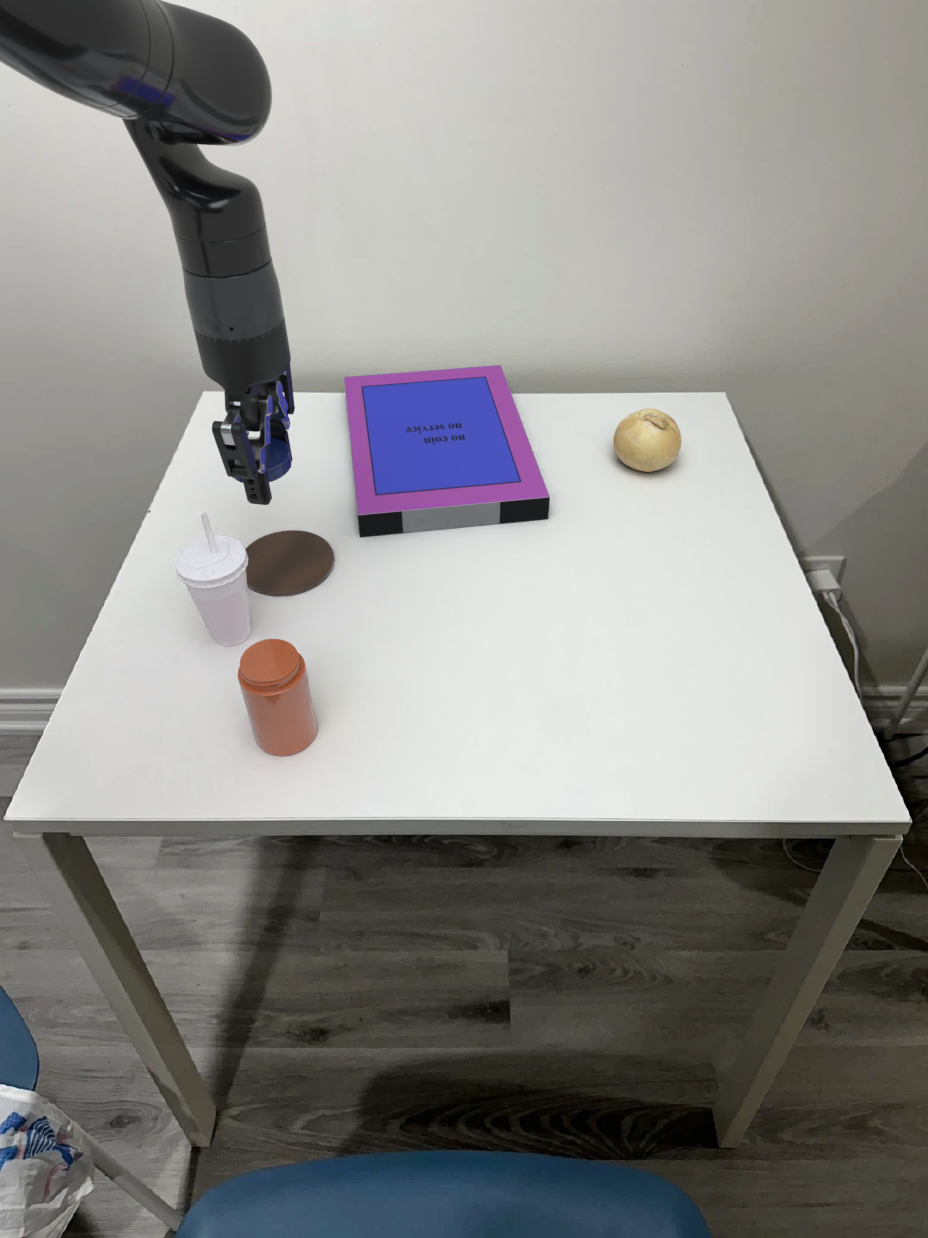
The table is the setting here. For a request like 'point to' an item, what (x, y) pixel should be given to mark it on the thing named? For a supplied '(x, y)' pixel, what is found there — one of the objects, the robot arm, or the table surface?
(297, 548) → the coaster
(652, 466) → the onion
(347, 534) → the table surface
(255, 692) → the jar
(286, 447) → the jar lid
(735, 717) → the table surface
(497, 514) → the book
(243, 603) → the smoothie
